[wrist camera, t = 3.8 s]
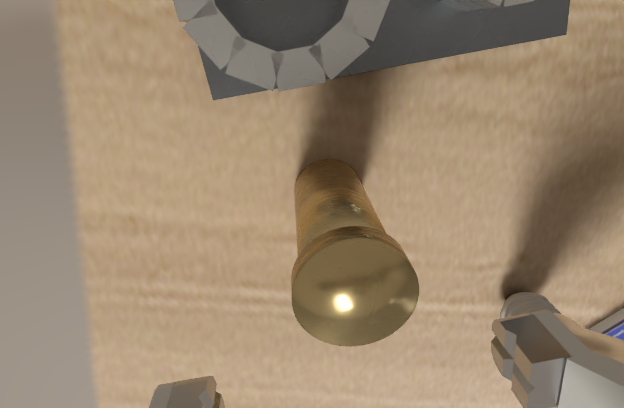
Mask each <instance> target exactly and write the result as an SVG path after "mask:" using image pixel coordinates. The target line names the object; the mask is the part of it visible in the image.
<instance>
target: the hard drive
mask: <svg viewBox="0 0 624 408" xmlns="http://www.w3.org/2000/svg"><path fill="white" fill-rule="evenodd" d="M588 330H591V331H594V332H598V333H602V334H606V335H609V336H612V337H615V338H618V339H621V340H624V308H622V309H621V310H619V311H617V312H616V313H614V314H612V315H611V316H609V317H608V318H606V319H604V320H603V321H601V322H599V323H598V324H596V325H594V326H593V327H591V328H590V329H588Z"/></svg>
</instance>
